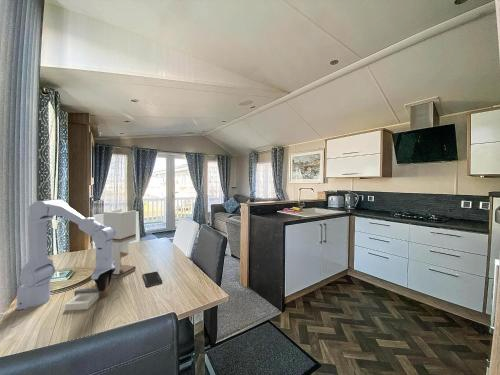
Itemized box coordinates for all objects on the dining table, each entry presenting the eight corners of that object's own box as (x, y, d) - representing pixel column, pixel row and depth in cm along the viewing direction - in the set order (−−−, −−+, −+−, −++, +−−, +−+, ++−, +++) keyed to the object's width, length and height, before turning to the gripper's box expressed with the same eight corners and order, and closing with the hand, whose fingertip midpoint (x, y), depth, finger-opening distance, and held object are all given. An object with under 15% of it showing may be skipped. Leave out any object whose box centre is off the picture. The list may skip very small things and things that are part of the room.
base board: (45, 326, 76) (45, 313, 76) (76, 299, 93) (76, 289, 92) (80, 323, 78) (80, 311, 77) (104, 298, 94) (104, 288, 94)
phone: (146, 285, 105) (142, 274, 117) (146, 288, 105) (142, 276, 117) (163, 282, 109) (157, 271, 122) (162, 284, 109) (157, 273, 122)
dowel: (98, 298, 87) (98, 279, 87) (101, 294, 90) (102, 275, 90) (106, 297, 88) (106, 278, 88) (109, 294, 91) (109, 275, 91)
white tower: (119, 278, 113) (120, 213, 112) (103, 276, 115) (103, 212, 114) (135, 269, 124) (136, 210, 123) (120, 267, 126) (120, 209, 125)
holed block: (65, 310, 83) (65, 304, 83) (78, 299, 91) (78, 293, 91) (87, 309, 85) (87, 303, 85) (98, 298, 93) (98, 292, 93)
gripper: (105, 262, 82) (105, 297, 83) (122, 250, 96) (121, 280, 97) (85, 263, 81) (85, 298, 81) (105, 250, 95) (104, 280, 96)
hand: (103, 288), depth 89 cm, fingers closed on dowel, 3 cm apart
